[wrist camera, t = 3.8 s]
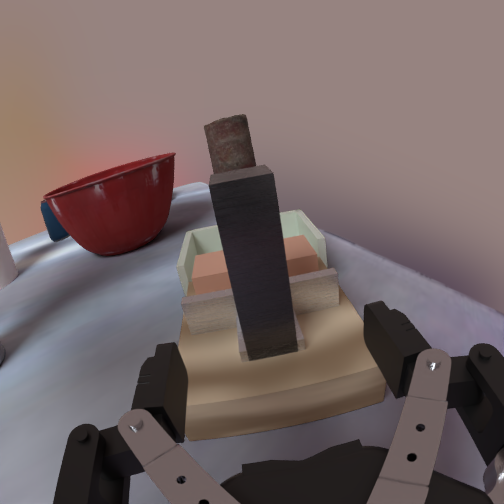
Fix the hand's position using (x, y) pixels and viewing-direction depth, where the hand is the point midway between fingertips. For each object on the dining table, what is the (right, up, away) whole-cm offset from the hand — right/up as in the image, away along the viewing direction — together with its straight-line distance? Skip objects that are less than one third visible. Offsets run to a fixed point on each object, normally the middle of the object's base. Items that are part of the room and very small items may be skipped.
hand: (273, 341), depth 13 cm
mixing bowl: (-27, +6, +51) cm, 58 cm away
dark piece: (0, -3, +10) cm, 10 cm away
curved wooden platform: (+1, -5, +15) cm, 15 cm away
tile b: (+3, +1, +18) cm, 18 cm away
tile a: (-3, 0, +18) cm, 18 cm away
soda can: (-55, +8, +68) cm, 88 cm away
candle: (-2, +7, +45) cm, 45 cm away
